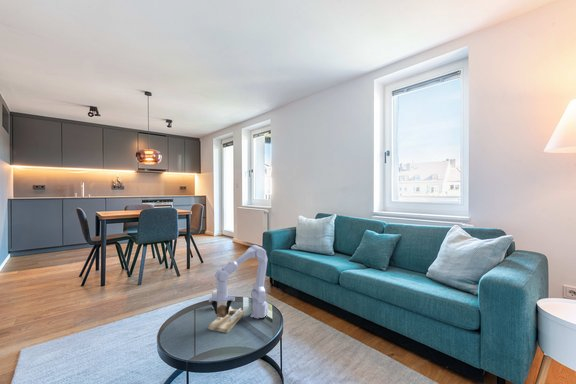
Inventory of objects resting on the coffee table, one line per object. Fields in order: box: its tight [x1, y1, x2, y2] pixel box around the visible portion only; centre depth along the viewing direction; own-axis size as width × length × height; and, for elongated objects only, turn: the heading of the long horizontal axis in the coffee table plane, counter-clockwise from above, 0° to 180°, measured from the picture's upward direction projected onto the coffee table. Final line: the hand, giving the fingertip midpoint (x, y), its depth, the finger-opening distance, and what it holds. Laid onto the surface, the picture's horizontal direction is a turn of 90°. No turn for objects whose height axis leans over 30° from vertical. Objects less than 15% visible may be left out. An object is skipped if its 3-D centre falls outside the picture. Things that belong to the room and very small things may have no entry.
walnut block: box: [216, 305, 227, 318], centre depth 154 cm, size 5×5×5 cm
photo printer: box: [211, 288, 229, 310], centre depth 178 cm, size 10×4×12 cm, turn 109°
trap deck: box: [208, 308, 246, 333], centre depth 160 cm, size 12×22×2 cm, turn 163°
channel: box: [219, 306, 242, 321], centre depth 164 cm, size 8×13×2 cm, turn 163°
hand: (222, 313), depth 154 cm, fingers closed on walnut block, 6 cm apart
